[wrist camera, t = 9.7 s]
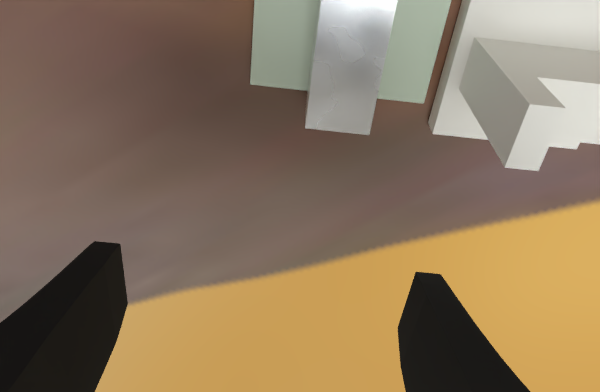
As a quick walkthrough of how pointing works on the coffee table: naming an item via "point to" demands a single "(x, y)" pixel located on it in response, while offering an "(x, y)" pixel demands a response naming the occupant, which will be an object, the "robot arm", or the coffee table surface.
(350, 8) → the rail
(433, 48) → the mat
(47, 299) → the robot arm
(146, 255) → the coffee table surface
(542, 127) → the rack
